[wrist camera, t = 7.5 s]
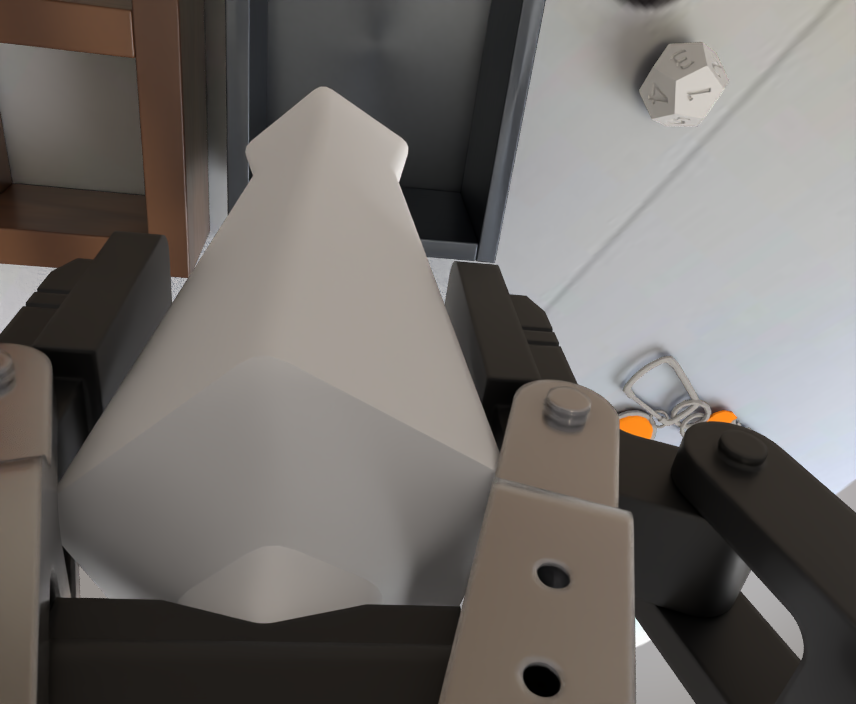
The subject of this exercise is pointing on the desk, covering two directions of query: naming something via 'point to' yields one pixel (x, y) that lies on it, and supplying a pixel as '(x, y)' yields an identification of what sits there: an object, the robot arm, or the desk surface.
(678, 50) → the game die
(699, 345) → the desk surface
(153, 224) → the rack
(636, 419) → the key chain
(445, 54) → the dark grey open box
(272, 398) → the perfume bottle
